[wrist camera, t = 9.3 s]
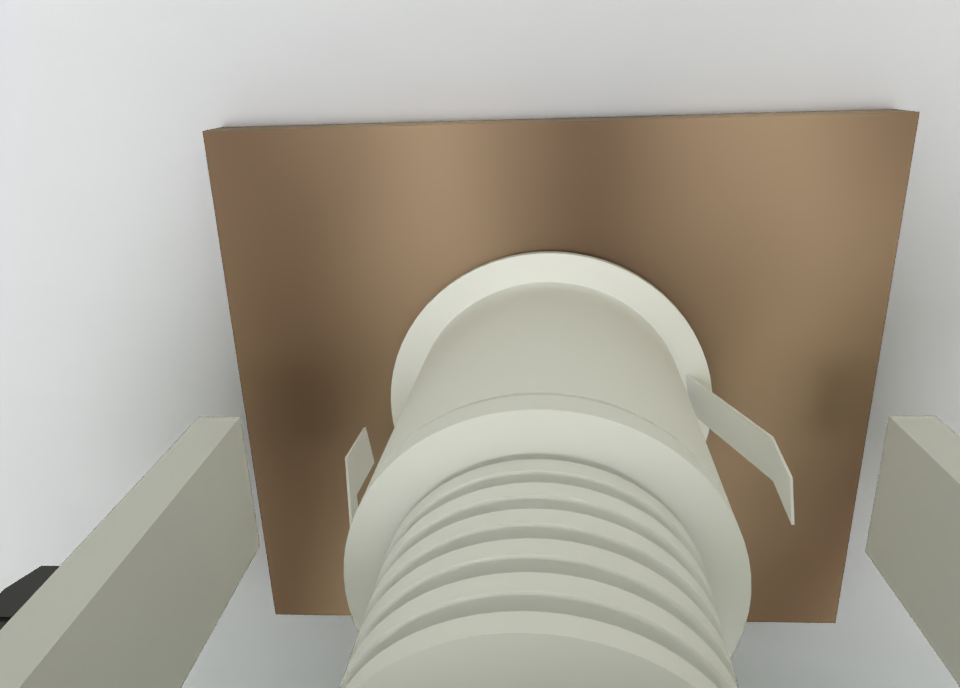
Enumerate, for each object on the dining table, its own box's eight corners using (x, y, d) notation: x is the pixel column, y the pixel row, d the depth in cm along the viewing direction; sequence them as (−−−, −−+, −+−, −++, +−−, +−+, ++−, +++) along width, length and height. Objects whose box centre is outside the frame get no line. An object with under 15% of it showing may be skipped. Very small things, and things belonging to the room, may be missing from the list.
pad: (287, 589, 20) (275, 614, 19) (221, 127, 16) (202, 130, 15) (820, 596, 19) (835, 623, 18) (895, 109, 15) (919, 112, 14)
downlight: (721, 220, 15) (976, 474, 6) (740, 516, 17) (945, 1034, 8) (343, 276, 16) (59, 559, 7) (408, 546, 19) (259, 1026, 9)
